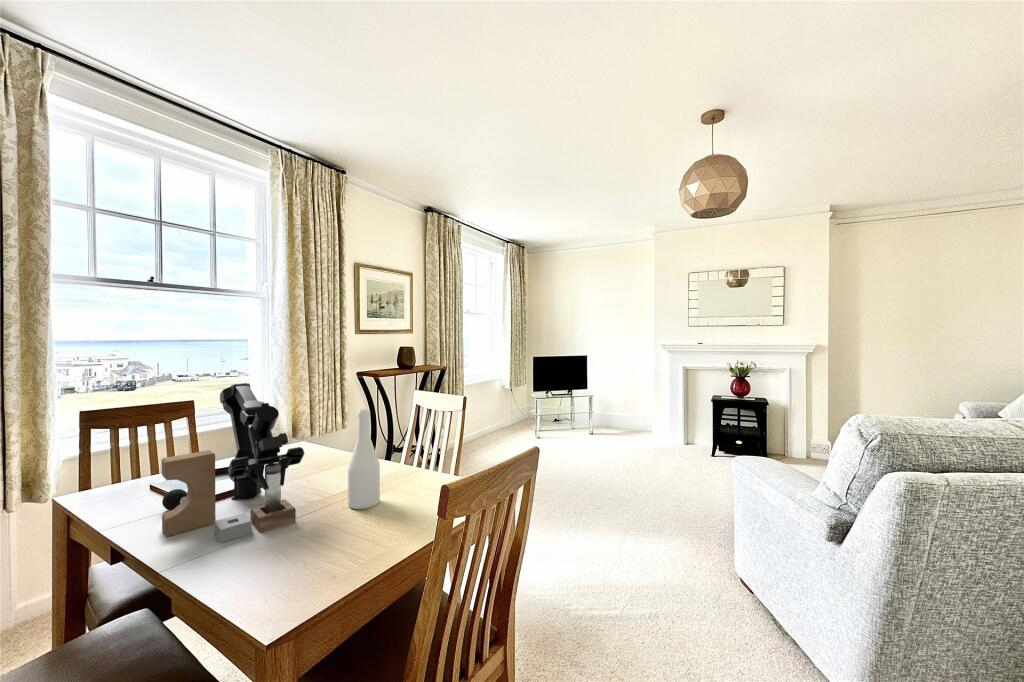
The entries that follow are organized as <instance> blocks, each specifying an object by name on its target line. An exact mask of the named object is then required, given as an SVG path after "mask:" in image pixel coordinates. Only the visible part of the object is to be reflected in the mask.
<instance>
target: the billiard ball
mask: <svg viewBox="0 0 1024 682" xmlns="http://www.w3.org/2000/svg"><path fill="white" fill-rule="evenodd" d="M186 496H187V491H186V490H184V489H182V488H175V489H173V490H172V489H171V490H169V491H167V492H166V494H165V495H164V496H163V498H162V501H161V504H162V506H163V508H164V509H166V510H167V511H168V510H169V511H171V510H173V509H175V508H176V507H177V506H178V505H179V504H181V503H182V501H183V500H184V499H185V497H186Z"/></svg>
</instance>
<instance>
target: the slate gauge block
mask: <svg viewBox="0 0 1024 682" xmlns="http://www.w3.org/2000/svg"><path fill="white" fill-rule="evenodd" d="M213 525H214V530H213V531H214V536H215V537H216V538H217V540H218V542H219V543H220V544H223V543H225V542H229V541H232V540H235V539H239V538H242V537H246V536H250V535H253V534H252V533H253V532H252V531H253V530H252V529H253V524H252V521H251V518H250V516H248V515H247V514H246V513H245V512H242V513H239V514H235V515H232V516H228V517H224V518H221V519H217V520H216V521H214V524H213Z"/></svg>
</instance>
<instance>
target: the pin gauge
mask: <svg viewBox="0 0 1024 682" xmlns="http://www.w3.org/2000/svg"><path fill="white" fill-rule="evenodd" d="M264 479H265V481H266V486H267V489H266V490H264V505H265V513H271V512H275V511H278V510H281V500H282V486H281V464H280V463H272V464H267V465H264Z"/></svg>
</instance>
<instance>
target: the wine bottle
mask: <svg viewBox="0 0 1024 682" xmlns="http://www.w3.org/2000/svg"><path fill="white" fill-rule="evenodd" d="M357 417H358V427H357V428H358V431H357V432H358V433H357V434H358V435H357V438H356V439H357V440H356V442H355V446H354V448H353V452H352V455H351V457H350V460H349V464H348V466H347V504H348V507H349V508H350V509H353V510H366V509H367V510H368V509H371V508H373V507H375V506H376V505H378V504H379V503H380V500H381V499H380V498H381V490H380V489H381V487H380V486H381V484H380V483H381V482H380V481H381V473H380V472H381V470H380V469H381V465H380V462H379V458H378V455H377V454H376V450H375V447H374V444H373V441H372V439H371V429H370V426H371V425H370V417H371V411H370V409H369V408H361V409H359V410H358V412H357Z"/></svg>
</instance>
